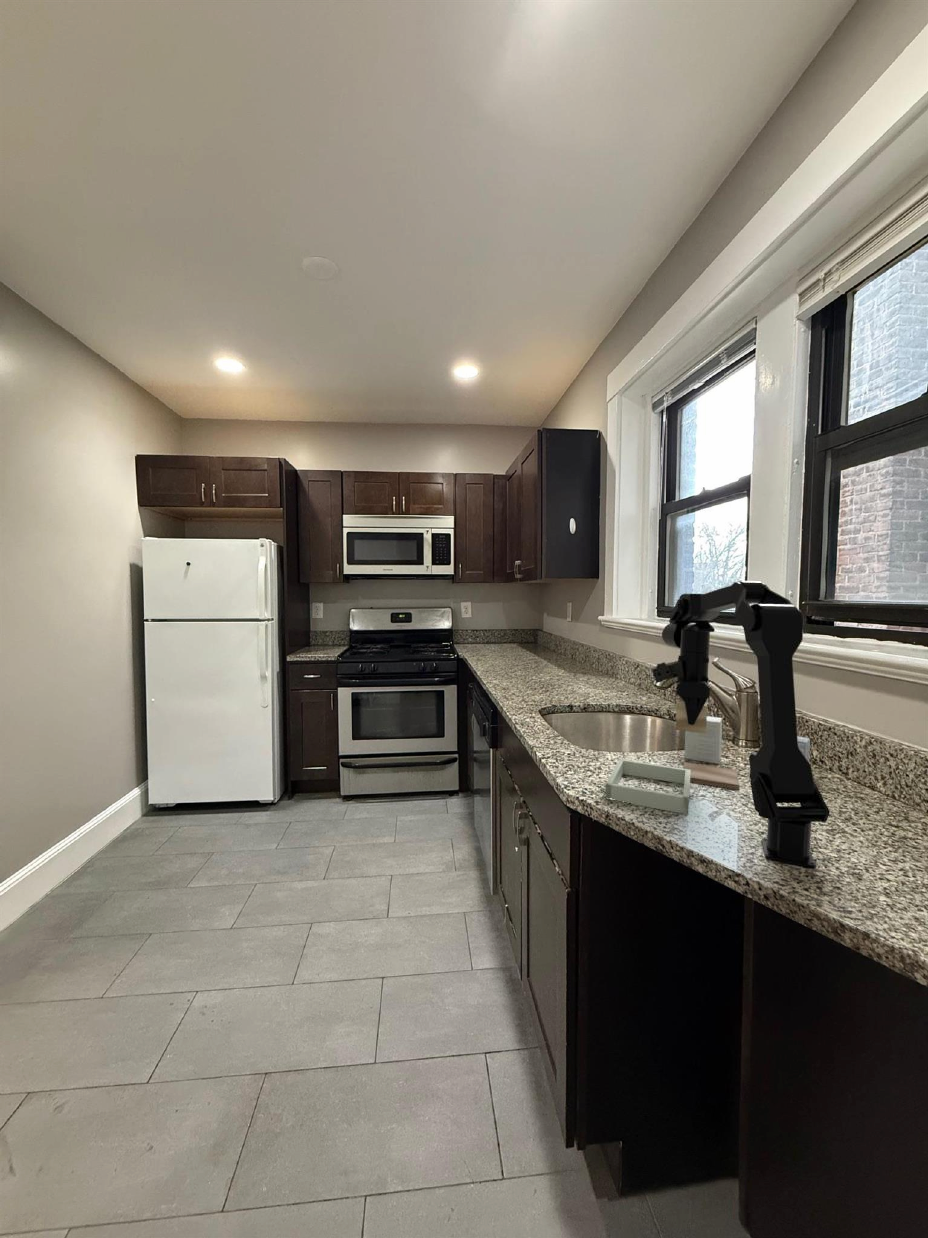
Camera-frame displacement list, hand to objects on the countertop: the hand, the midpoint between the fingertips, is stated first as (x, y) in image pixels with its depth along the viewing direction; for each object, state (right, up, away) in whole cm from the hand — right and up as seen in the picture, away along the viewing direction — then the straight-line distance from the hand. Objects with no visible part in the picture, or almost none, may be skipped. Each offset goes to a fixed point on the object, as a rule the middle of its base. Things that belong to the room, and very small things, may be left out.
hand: (691, 722), depth 110 cm
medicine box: (+26, -14, +8) cm, 31 cm away
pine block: (0, -2, 0) cm, 2 cm away
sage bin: (-11, -13, -5) cm, 18 cm away
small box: (+11, -13, +17) cm, 24 cm away
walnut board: (+6, -13, +4) cm, 15 cm away
